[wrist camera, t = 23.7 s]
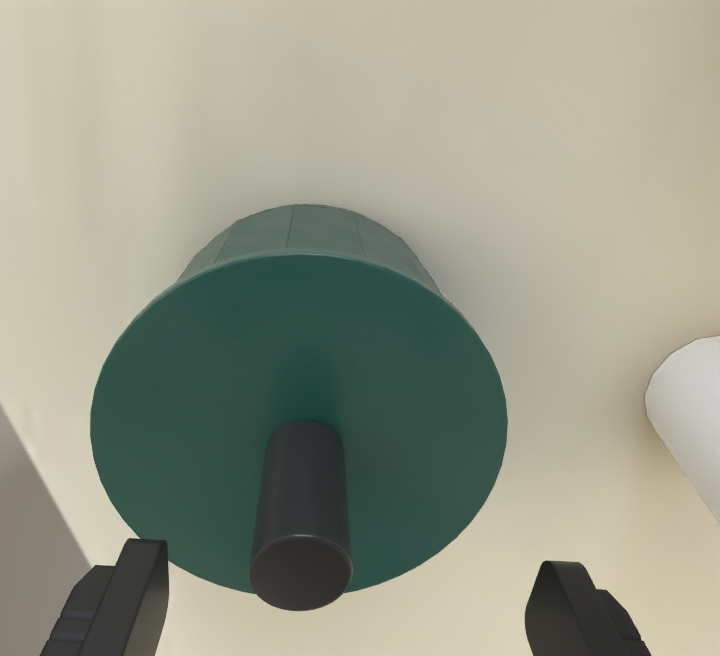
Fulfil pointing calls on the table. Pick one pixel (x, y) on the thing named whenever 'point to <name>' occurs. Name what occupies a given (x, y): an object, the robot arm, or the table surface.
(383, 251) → the tin
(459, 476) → the lid
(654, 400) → the foam cup
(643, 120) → the table surface
